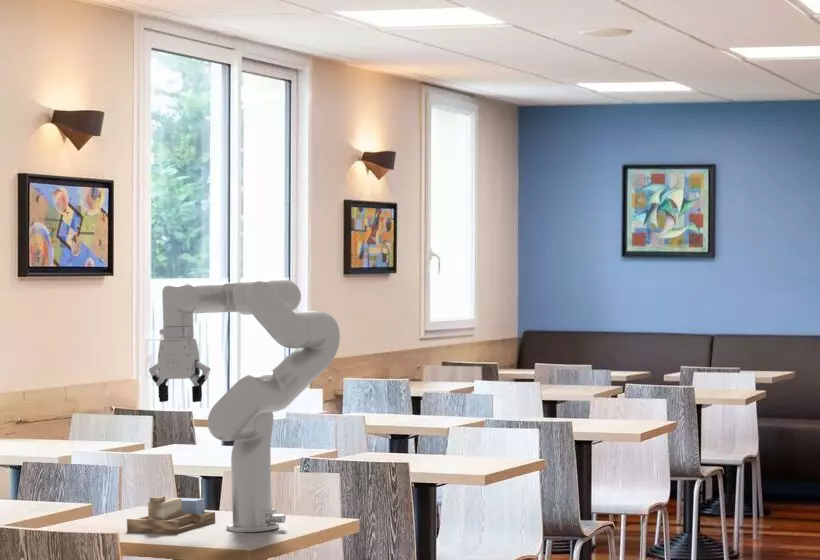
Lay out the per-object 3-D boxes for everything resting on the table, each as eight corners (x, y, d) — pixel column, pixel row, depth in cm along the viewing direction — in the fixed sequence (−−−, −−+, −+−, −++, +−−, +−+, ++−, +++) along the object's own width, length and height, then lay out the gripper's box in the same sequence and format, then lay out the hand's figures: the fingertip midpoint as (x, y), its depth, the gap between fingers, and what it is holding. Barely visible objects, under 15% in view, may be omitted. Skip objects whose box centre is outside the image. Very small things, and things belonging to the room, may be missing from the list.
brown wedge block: (181, 522, 354) (181, 493, 354) (162, 528, 346) (161, 498, 346) (166, 521, 356) (165, 492, 356) (147, 527, 348) (146, 497, 348)
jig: (215, 522, 360) (215, 510, 360) (176, 533, 343) (176, 521, 343) (167, 520, 365) (167, 508, 365) (127, 531, 349) (126, 519, 349)
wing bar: (204, 518, 359) (204, 498, 359) (196, 521, 356) (195, 501, 356) (170, 517, 363) (170, 497, 363) (161, 519, 359) (161, 499, 360)
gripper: (141, 334, 361) (142, 402, 361) (200, 333, 355) (202, 403, 355) (157, 333, 368) (159, 400, 368) (216, 332, 362) (217, 400, 361)
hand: (180, 401), depth 361 cm, fingers open, 9 cm apart
